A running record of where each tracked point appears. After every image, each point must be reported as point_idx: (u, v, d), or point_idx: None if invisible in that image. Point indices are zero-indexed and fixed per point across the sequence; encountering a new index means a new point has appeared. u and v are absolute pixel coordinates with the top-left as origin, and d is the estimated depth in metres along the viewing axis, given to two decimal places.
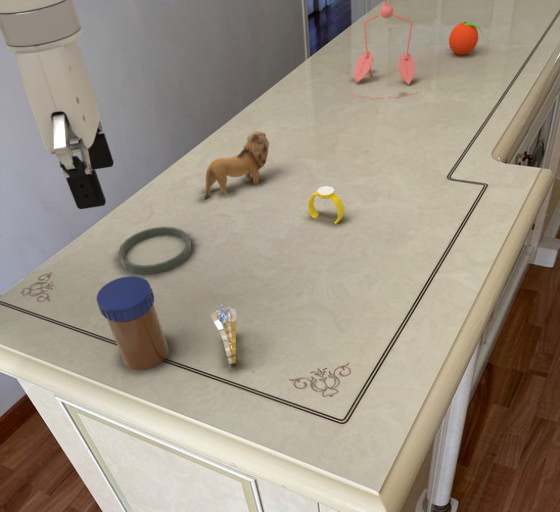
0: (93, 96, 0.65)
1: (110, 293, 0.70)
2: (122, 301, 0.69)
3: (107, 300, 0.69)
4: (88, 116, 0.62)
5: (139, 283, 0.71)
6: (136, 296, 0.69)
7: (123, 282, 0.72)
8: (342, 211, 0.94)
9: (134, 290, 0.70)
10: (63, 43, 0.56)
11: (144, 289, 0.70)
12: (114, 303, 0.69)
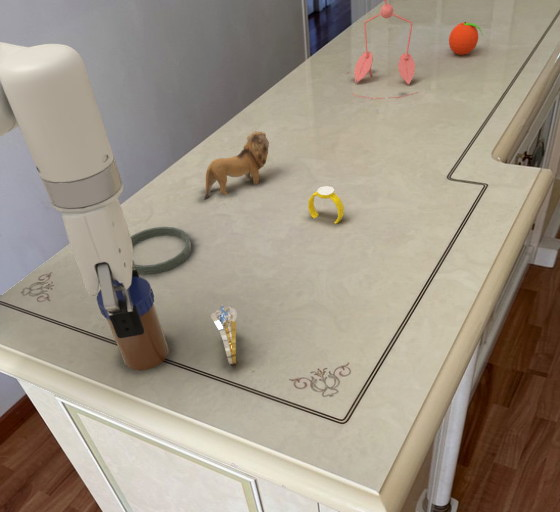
0: (128, 233, 0.68)
1: None
2: None
3: None
4: (127, 259, 0.64)
5: (139, 283, 0.71)
6: (136, 296, 0.69)
7: None
8: (342, 211, 0.94)
9: (134, 290, 0.70)
10: (107, 203, 0.59)
11: (144, 289, 0.70)
12: None
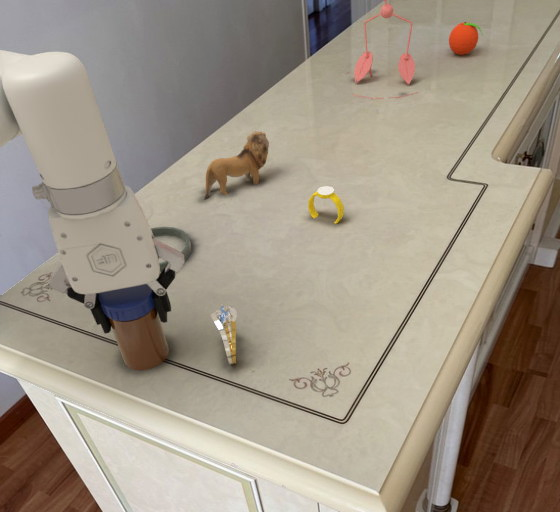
0: None
1: (122, 299, 0.69)
2: (141, 289, 0.70)
3: (134, 299, 0.69)
4: None
5: None
6: None
7: (108, 294, 0.70)
8: (342, 211, 0.94)
9: None
10: None
11: None
12: (141, 294, 0.70)
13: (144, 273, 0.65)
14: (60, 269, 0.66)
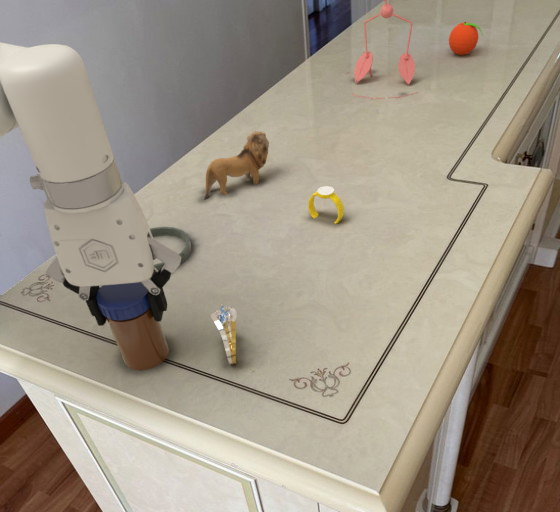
0: None
1: (135, 291, 0.70)
2: None
3: (139, 284, 0.71)
4: None
5: (105, 298, 0.69)
6: None
7: (119, 301, 0.69)
8: (342, 211, 0.94)
9: (112, 290, 0.70)
10: None
11: (102, 291, 0.71)
12: None
13: (136, 272, 0.65)
14: (56, 259, 0.66)
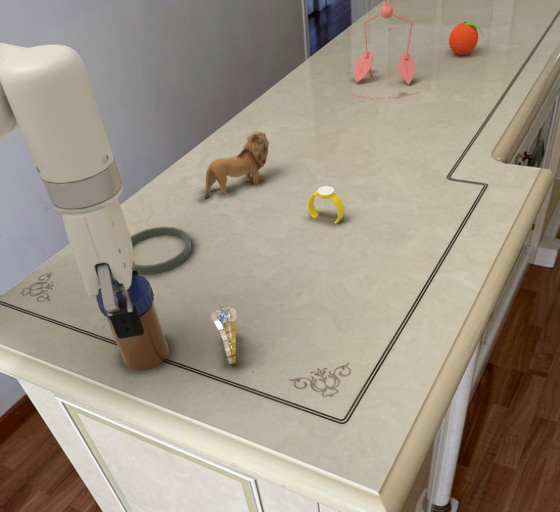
0: (128, 234, 0.68)
1: (136, 289, 0.70)
2: None
3: (138, 282, 0.71)
4: (127, 260, 0.65)
5: None
6: None
7: (122, 300, 0.69)
8: (342, 211, 0.94)
9: None
10: (107, 203, 0.59)
11: None
12: None
13: None
14: None
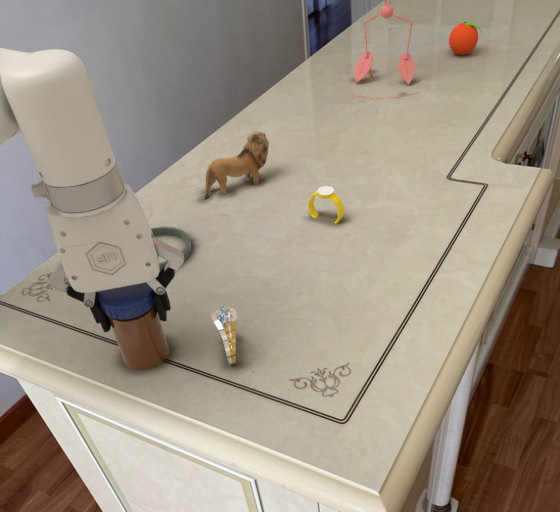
0: None
1: None
2: (110, 291, 0.70)
3: None
4: None
5: (134, 298, 0.69)
6: (113, 299, 0.69)
7: (142, 286, 0.70)
8: (342, 211, 0.94)
9: (123, 296, 0.69)
10: None
11: (122, 303, 0.68)
12: None
13: (144, 272, 0.65)
14: (59, 268, 0.66)
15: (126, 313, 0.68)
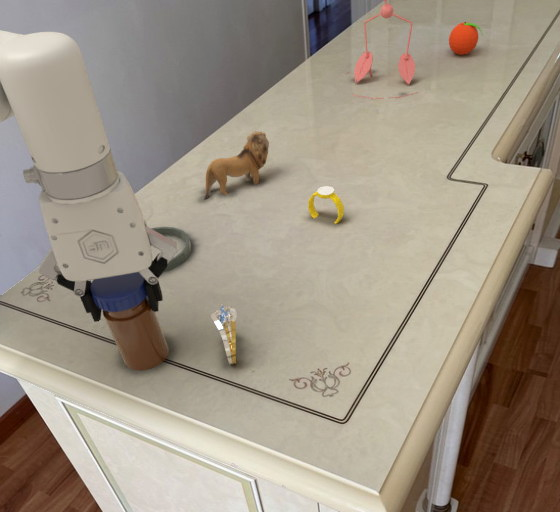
0: None
1: (104, 282, 0.70)
2: (116, 291, 0.68)
3: (100, 290, 0.69)
4: None
5: (134, 273, 0.70)
6: (130, 286, 0.69)
7: None
8: (342, 211, 0.94)
9: (128, 280, 0.69)
10: None
11: (138, 279, 0.69)
12: (107, 293, 0.68)
13: (136, 261, 0.65)
14: (50, 255, 0.65)
15: None
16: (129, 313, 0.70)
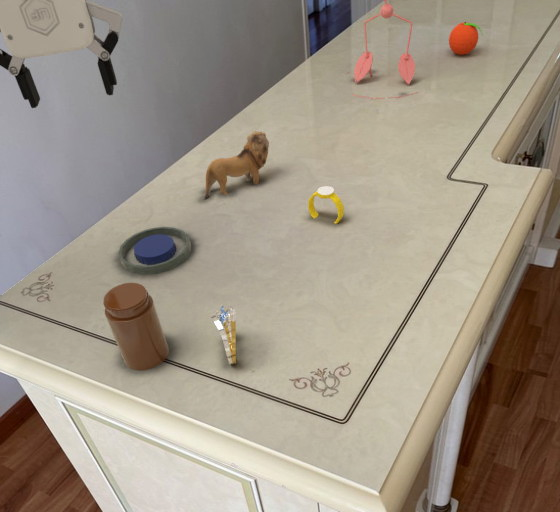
0: None
1: (144, 246, 0.94)
2: (153, 251, 0.92)
3: (141, 251, 0.93)
4: None
5: (165, 239, 0.95)
6: (163, 248, 0.93)
7: (153, 238, 0.95)
8: (342, 211, 0.94)
9: (161, 244, 0.94)
10: None
11: (169, 243, 0.94)
12: (147, 253, 0.92)
13: (77, 34, 0.68)
14: None
15: (175, 247, 0.94)
16: (131, 313, 0.70)
